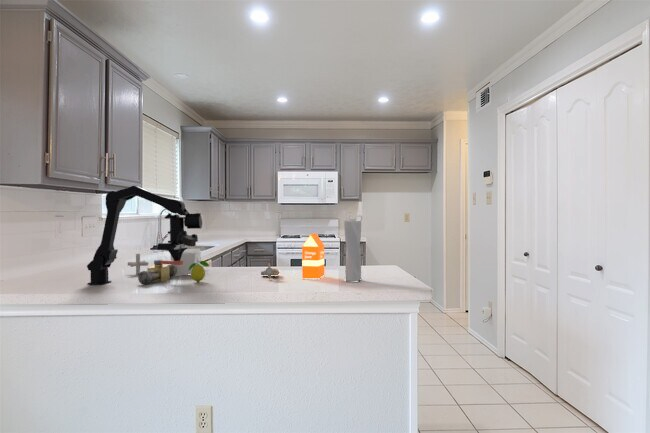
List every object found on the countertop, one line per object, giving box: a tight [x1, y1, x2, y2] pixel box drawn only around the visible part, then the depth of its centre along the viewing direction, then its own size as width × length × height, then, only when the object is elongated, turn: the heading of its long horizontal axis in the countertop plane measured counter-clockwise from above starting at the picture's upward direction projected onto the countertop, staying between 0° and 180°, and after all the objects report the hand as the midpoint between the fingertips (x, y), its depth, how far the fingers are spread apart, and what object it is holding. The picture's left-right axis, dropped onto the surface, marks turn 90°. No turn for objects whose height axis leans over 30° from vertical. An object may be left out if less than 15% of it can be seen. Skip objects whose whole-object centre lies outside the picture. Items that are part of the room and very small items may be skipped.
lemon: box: [189, 260, 210, 283], centre depth 152 cm, size 7×6×10 cm
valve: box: [260, 262, 281, 279], centre depth 161 cm, size 8×12×10 cm
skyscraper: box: [343, 214, 363, 283], centre depth 152 cm, size 8×8×28 cm
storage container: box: [170, 248, 202, 277], centre depth 182 cm, size 25×11×11 cm, turn 13°
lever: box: [153, 259, 183, 265], centre depth 155 cm, size 15×4×2 cm, turn 68°
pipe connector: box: [127, 253, 149, 275], centre depth 177 cm, size 10×10×10 cm
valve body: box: [137, 264, 177, 286], centre depth 157 cm, size 20×6×7 cm, turn 174°
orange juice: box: [301, 233, 325, 278], centre depth 159 cm, size 8×9×20 cm
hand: (177, 264), depth 156 cm, fingers closed
